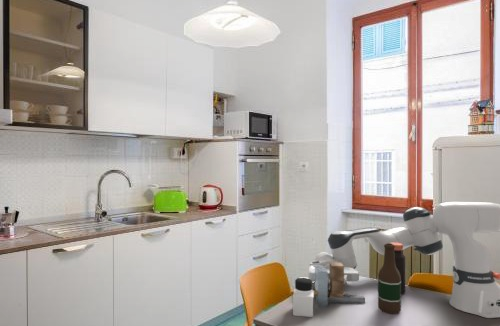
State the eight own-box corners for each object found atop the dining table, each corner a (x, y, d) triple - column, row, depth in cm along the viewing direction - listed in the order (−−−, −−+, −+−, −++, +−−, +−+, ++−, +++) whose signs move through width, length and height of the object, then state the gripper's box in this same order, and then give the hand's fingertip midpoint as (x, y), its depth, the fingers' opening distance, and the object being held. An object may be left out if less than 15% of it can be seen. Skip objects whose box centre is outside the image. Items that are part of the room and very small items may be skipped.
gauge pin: (321, 294, 132) (321, 290, 132) (322, 295, 130) (322, 291, 130) (309, 294, 132) (309, 290, 132) (309, 295, 130) (309, 291, 130)
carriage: (341, 293, 133) (341, 262, 133) (343, 297, 128) (343, 266, 128) (321, 292, 133) (321, 262, 133) (323, 297, 129) (323, 265, 129)
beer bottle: (390, 316, 118) (390, 247, 117) (373, 308, 124) (373, 243, 124) (406, 312, 121) (406, 245, 121) (388, 304, 128) (388, 240, 128)
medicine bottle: (313, 317, 117) (313, 283, 117) (292, 315, 118) (292, 281, 118) (313, 308, 124) (313, 276, 124) (294, 307, 125) (294, 275, 125)
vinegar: (384, 289, 142) (384, 242, 142) (398, 288, 144) (397, 241, 144) (394, 295, 136) (394, 246, 136) (409, 294, 138) (409, 245, 137)
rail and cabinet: (362, 299, 132) (362, 266, 132) (368, 306, 125) (367, 272, 125) (314, 298, 133) (314, 265, 133) (318, 306, 126) (318, 271, 126)
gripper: (354, 277, 143) (364, 289, 130) (305, 277, 144) (310, 289, 130) (354, 262, 143) (364, 273, 130) (305, 262, 144) (310, 273, 130)
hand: (337, 281), depth 130 cm, fingers closed on carriage, 4 cm apart
